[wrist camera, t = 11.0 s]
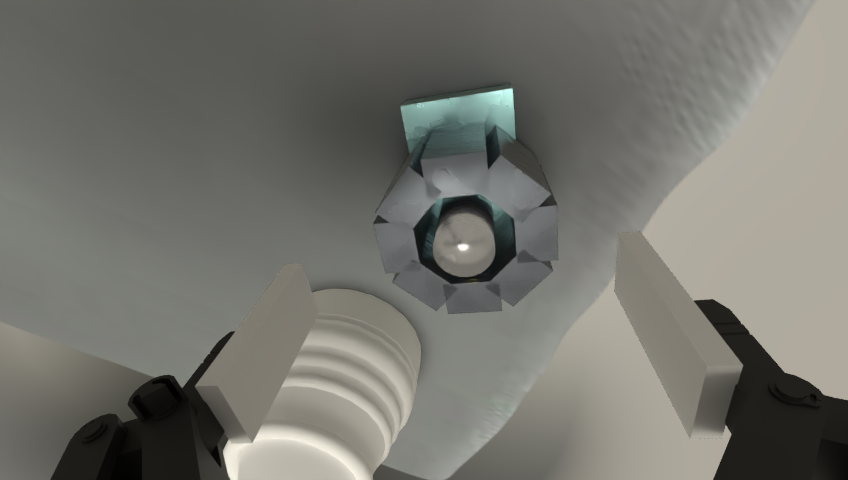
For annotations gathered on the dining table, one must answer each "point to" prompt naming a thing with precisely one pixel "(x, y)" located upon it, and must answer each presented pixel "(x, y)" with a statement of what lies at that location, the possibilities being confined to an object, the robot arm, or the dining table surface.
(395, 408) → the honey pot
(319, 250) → the dining table surface
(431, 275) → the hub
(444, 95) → the teal two-tone fixture
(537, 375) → the dining table surface
